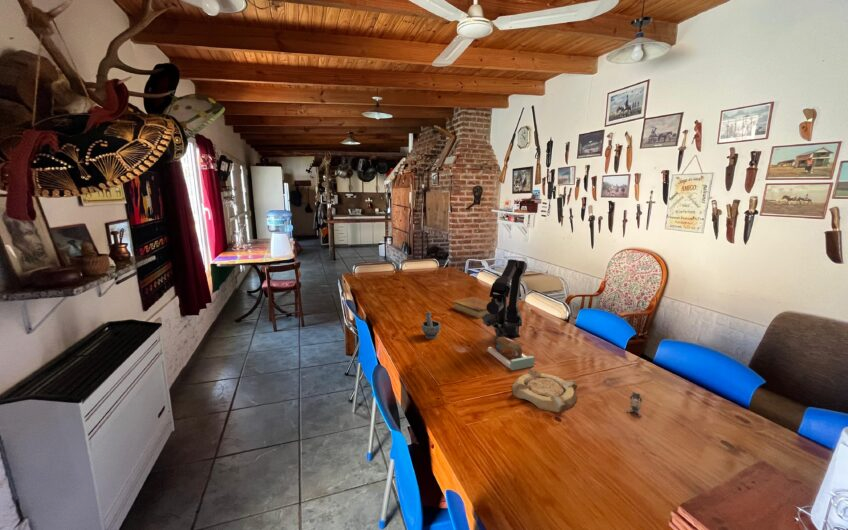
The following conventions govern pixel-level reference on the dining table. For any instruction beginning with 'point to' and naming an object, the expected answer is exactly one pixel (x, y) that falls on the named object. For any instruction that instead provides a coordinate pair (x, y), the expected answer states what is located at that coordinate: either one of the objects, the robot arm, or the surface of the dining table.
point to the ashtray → (546, 391)
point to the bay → (514, 363)
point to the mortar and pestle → (430, 327)
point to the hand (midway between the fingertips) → (498, 339)
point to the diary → (472, 306)
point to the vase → (635, 403)
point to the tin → (508, 348)
